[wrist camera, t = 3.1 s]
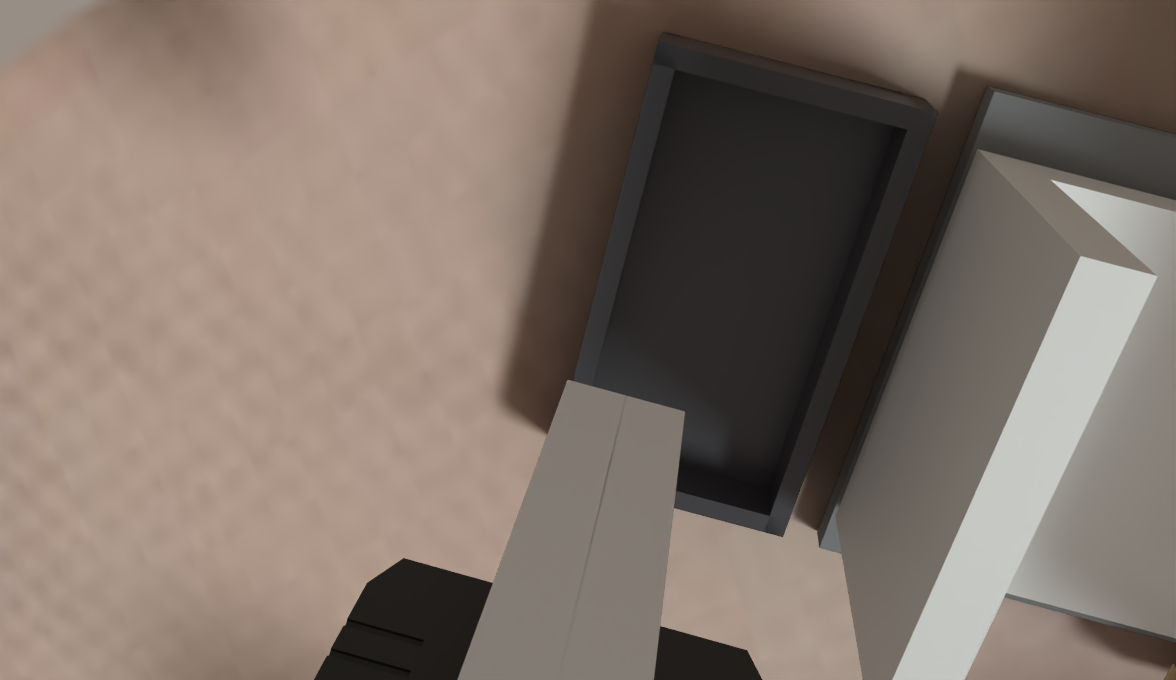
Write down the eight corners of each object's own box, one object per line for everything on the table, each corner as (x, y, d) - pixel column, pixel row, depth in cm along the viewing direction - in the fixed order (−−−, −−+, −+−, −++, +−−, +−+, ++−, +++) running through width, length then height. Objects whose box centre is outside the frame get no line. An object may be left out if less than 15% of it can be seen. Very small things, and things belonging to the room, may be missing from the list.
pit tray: (558, 443, 24) (548, 474, 22) (663, 31, 20) (658, 40, 19) (780, 502, 24) (782, 537, 22) (924, 98, 20) (938, 113, 19)
